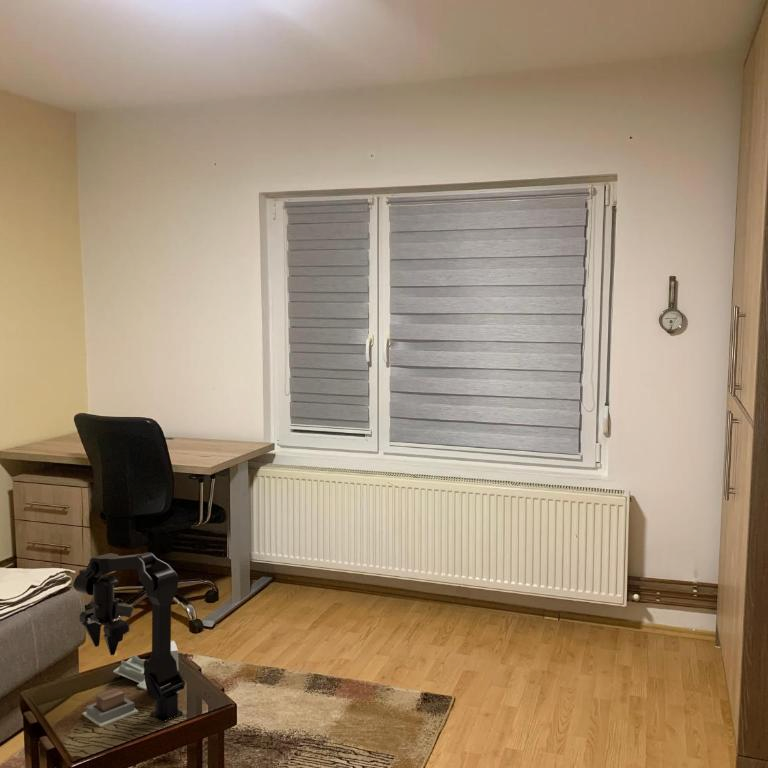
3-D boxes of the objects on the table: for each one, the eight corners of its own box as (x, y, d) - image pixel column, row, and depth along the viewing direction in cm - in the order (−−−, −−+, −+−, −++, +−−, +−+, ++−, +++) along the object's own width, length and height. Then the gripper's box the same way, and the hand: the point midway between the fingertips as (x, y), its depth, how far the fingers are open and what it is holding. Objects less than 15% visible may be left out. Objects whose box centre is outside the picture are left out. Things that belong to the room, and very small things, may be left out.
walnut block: (124, 710, 215) (124, 692, 215) (104, 718, 211) (103, 700, 210) (117, 705, 218) (116, 688, 217) (96, 713, 213) (96, 695, 213)
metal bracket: (108, 667, 231) (134, 648, 246) (103, 685, 232) (130, 664, 246) (150, 685, 228) (175, 664, 243) (145, 703, 229) (170, 681, 244)
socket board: (138, 712, 215) (138, 703, 215) (100, 726, 207) (100, 717, 207) (119, 700, 222) (119, 692, 221) (82, 714, 213) (82, 705, 213)
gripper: (145, 598, 226) (146, 651, 227) (113, 584, 239) (114, 634, 240) (109, 608, 218) (110, 662, 219) (78, 593, 230) (79, 645, 231)
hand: (104, 650), depth 227 cm, fingers open, 9 cm apart
